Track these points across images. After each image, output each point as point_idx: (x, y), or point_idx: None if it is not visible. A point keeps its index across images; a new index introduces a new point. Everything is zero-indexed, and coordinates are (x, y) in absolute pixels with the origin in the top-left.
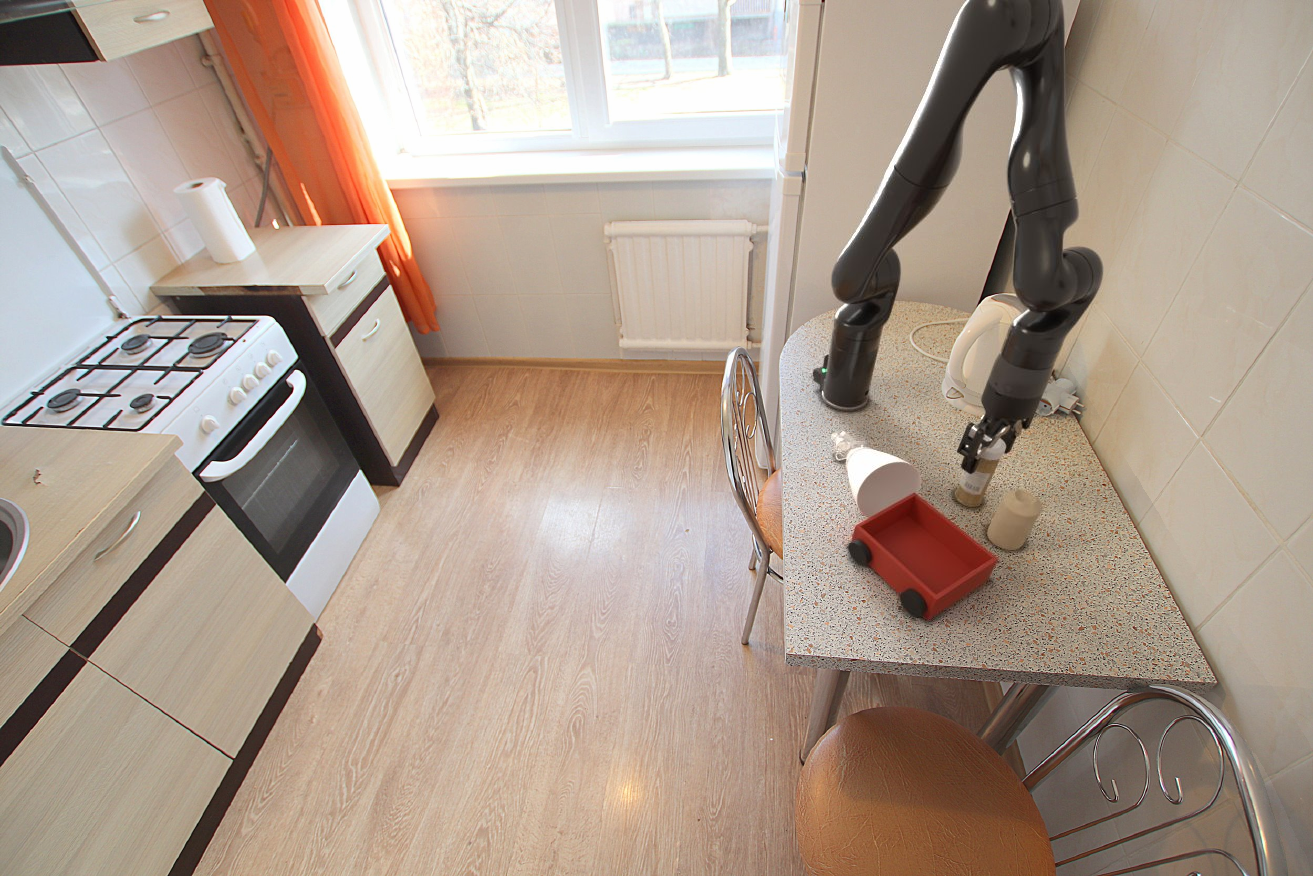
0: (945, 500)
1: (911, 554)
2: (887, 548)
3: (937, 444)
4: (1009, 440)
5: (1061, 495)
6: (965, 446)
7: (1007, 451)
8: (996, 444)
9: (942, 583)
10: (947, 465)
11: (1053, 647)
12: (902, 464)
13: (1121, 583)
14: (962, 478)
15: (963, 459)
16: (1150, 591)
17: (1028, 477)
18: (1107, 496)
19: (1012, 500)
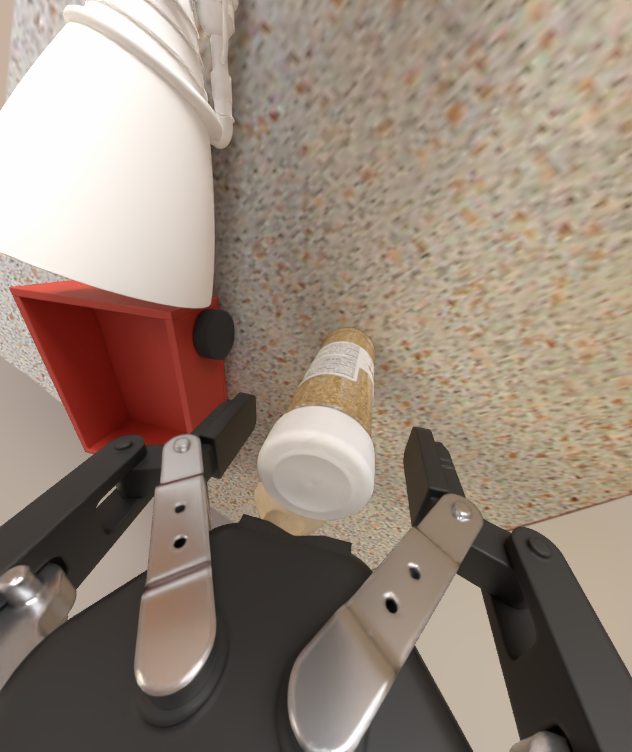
0: (308, 325)
1: (162, 359)
2: (133, 327)
3: (495, 168)
4: (412, 499)
5: (486, 460)
6: (125, 472)
7: (405, 465)
8: (317, 499)
9: (171, 412)
10: (417, 258)
11: (227, 506)
12: (165, 226)
13: (359, 535)
14: (317, 356)
15: (203, 421)
16: (371, 554)
17: (504, 405)
18: (538, 507)
19: (262, 504)
